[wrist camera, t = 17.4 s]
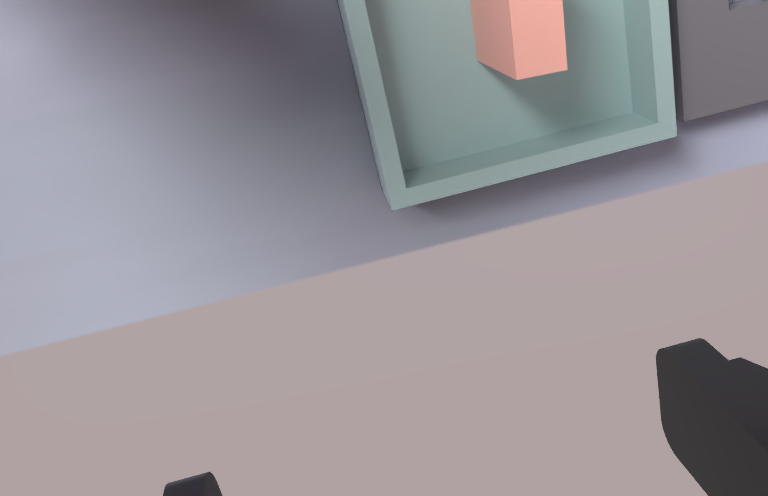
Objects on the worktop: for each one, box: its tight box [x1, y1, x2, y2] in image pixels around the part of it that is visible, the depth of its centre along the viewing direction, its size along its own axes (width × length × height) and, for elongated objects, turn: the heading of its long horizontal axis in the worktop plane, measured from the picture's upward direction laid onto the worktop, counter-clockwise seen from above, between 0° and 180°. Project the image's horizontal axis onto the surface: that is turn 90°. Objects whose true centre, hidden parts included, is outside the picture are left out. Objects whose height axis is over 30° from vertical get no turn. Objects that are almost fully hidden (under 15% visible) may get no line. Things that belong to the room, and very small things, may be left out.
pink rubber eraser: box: [470, 0, 568, 80], centre depth 35 cm, size 6×2×7 cm, turn 10°
